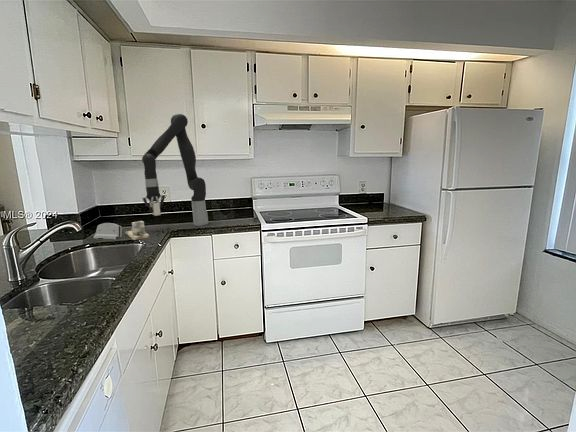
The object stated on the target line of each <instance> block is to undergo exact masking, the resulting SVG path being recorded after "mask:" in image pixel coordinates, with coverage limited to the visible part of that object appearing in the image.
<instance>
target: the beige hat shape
mask: <svg viewBox="0 0 576 432" xmlns="http://www.w3.org/2000/svg"><path fill="white" fill-rule="evenodd" d="M131 226H132V227H131V230H128V231H125V233H124V234H125V235H126V236H128V237H129V238H131V240H133V241H135V240H140V239H142V240H143V239H147V238H150V234H149V233H147V232H146V229H145V221H143V220H139V221H138V220H137V221H133V222H131Z"/></svg>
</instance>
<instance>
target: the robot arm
mask: <svg viewBox="0 0 576 432" xmlns="http://www.w3.org/2000/svg"><path fill="white" fill-rule="evenodd" d="M187 126H188V117H187V116H186V115H184V114H183V113H178V114H174V115H172V117H171V118H170V125H169V126H168V128H167V129H166V130H165V131H164V132H163V133H162V134H161V135H160V136H158V138H157V139H156V140H155V142H154V143H153V144H152V145H151V147H150V148H149V149H148V150H147V151H146V152H145V153H144V155H143V156H142V157H141V161H142V163H143V166H144V182H145V183H144V185H145V191H146V196H145V197H142V201H143V203H144V205H145V206H146V207H147V208H148V207H149V212H150V213H151V214H152V213H153V208H152V204H153V202H158V203H159V206H160V212H161V211H162V207H161V206H162V205H164V202H165V197H166V196H165V195H164V194H163V195H161V194H160V187H159V180H158V177H157V176H158V175H157V174H158V173H157V167H156V166H157V163H156V162H157V161H156V159H157V158H158V157H159V156H160V155H161V154H162V153H163V152H164V151H165V150H166V149H167V147H168V146H169V145H170V143H171V142H172V141H173V140H174V138H176V141H177V146H178V150H179V153H180V157H181V161H182V163H183V164H182V165H183V167H184V170H185V175H186V180H187V181H186V182H187V186H188V188H189V189H190V190H192V191H193V195H192V196H191V208H192V209H191V210H192V219H193V226H197V227H198V226H199V227H201V226H207V225H209V215H208V211H207V205H206V195H207V187H206V186H207V185H206V182H205V179H203V178H202V177H198V175H197V171H196V164H197V157H196V151H195V149H194V147H193V144H192V142H191V140H190V139H189V137H188V134H187V130H186V127H187Z"/></svg>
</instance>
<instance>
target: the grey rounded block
mask: <svg viewBox="0 0 576 432" xmlns="http://www.w3.org/2000/svg"><path fill="white" fill-rule="evenodd" d="M122 228H123V227H122V226H121V225H119V224H117V223H111V222H103V223H100V224H98V225H97V226H96V230H95V234H94V235H93V239H98V238H103V240H116V239H117V238H122V235H123V233H122Z"/></svg>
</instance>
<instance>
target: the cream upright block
mask: <svg viewBox="0 0 576 432" xmlns="http://www.w3.org/2000/svg"><path fill="white" fill-rule="evenodd" d="M152 208H153V213H151V214H152V215H153V216H155V217H156V216H161V215H162V214H161V211H160V206H159V203H158V202H156V201H154V202H153V204H152Z"/></svg>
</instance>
